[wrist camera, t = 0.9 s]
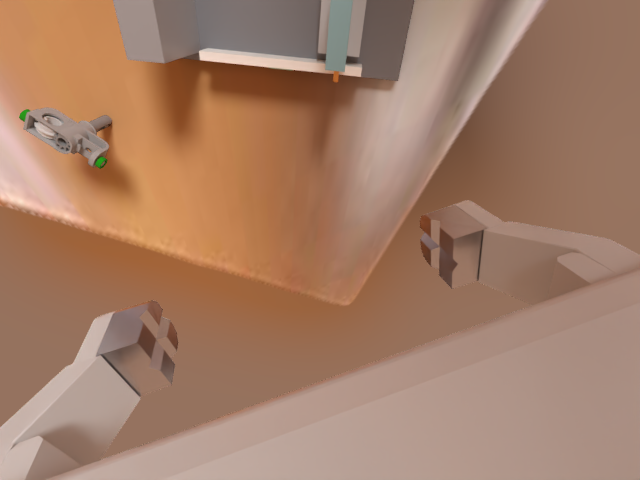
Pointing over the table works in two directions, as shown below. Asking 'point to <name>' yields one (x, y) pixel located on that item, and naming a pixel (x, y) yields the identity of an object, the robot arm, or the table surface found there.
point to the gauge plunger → (340, 32)
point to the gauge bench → (260, 34)
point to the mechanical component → (68, 133)
